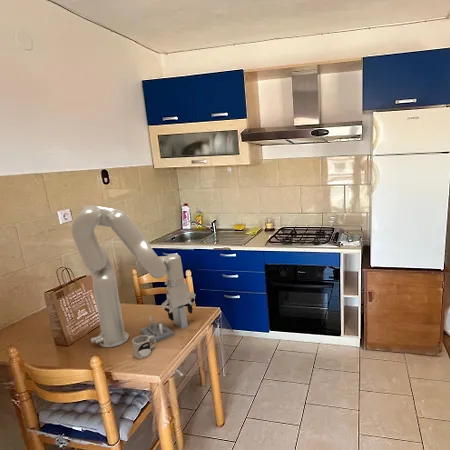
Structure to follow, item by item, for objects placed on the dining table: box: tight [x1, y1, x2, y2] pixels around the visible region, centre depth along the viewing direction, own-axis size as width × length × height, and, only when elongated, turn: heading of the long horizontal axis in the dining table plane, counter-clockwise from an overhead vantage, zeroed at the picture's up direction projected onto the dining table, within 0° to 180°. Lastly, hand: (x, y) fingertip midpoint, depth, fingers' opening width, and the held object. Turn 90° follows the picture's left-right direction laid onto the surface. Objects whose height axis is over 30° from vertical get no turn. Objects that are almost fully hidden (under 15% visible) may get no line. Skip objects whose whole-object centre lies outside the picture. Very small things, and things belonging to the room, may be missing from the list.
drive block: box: [172, 305, 189, 330], centre depth 169 cm, size 8×3×10 cm, turn 34°
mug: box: [131, 334, 157, 359], centre depth 148 cm, size 10×7×7 cm, turn 137°
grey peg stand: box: [140, 315, 175, 344], centre depth 163 cm, size 14×10×6 cm
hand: (181, 316), depth 170 cm, fingers open, 9 cm apart
